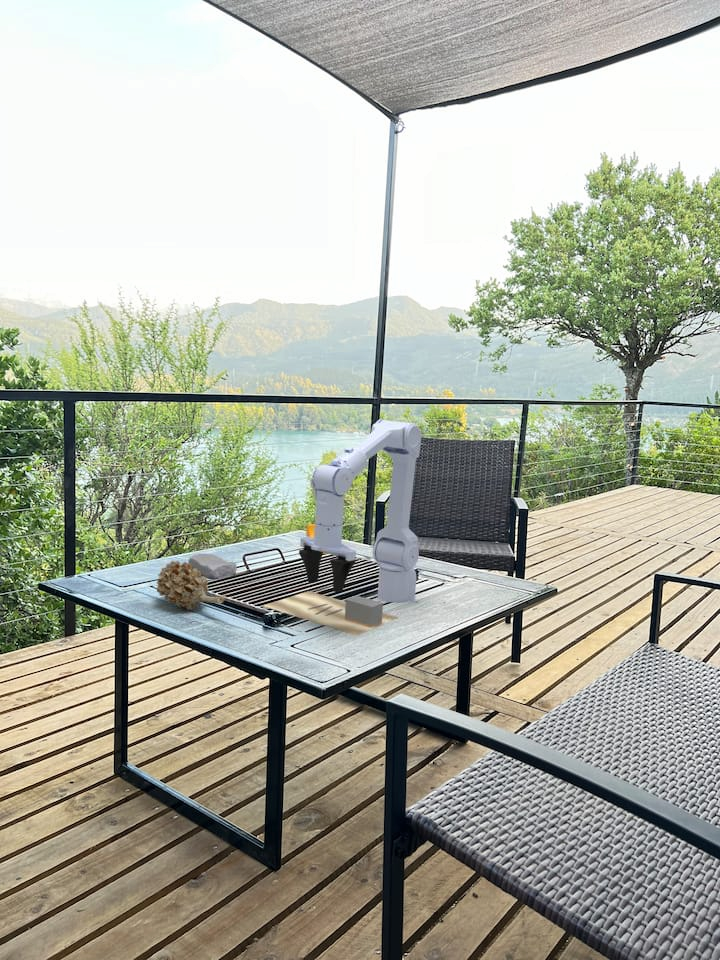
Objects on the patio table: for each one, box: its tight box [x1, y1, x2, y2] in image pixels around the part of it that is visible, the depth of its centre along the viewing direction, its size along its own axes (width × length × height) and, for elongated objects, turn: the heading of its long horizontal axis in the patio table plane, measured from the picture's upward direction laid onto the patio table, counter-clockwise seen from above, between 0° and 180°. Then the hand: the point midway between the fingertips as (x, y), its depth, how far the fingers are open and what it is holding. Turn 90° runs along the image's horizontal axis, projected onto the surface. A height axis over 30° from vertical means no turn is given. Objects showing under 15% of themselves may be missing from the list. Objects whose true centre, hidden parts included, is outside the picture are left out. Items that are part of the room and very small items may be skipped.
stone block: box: [187, 553, 238, 580], centre depth 205 cm, size 12×5×10 cm
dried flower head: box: [156, 560, 226, 611], centre depth 174 cm, size 22×10×10 cm, turn 56°
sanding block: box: [345, 595, 384, 627], centre depth 169 cm, size 4×7×4 cm, turn 54°
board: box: [262, 590, 399, 636], centre depth 175 cm, size 16×26×2 cm, turn 54°
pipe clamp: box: [305, 523, 329, 555], centre depth 236 cm, size 12×4×6 cm, turn 24°
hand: (325, 586), depth 164 cm, fingers open, 7 cm apart
